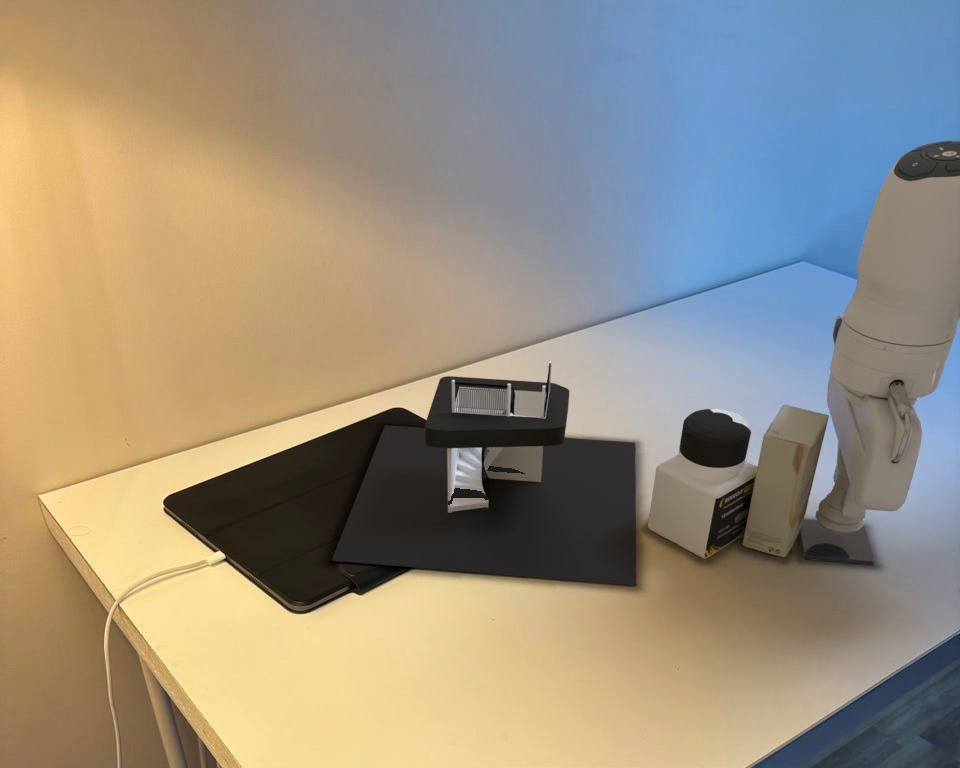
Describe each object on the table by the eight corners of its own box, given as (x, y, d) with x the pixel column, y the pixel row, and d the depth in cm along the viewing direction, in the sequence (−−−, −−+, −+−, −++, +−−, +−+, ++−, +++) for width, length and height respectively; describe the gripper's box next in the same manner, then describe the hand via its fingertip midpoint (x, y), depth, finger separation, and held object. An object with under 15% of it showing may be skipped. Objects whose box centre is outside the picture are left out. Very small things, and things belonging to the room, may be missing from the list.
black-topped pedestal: (331, 561, 91) (318, 432, 82) (384, 426, 111) (378, 310, 102) (636, 586, 89) (655, 455, 80) (635, 443, 109) (650, 326, 100)
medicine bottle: (704, 561, 92) (727, 446, 84) (645, 529, 96) (662, 417, 88) (749, 532, 96) (775, 420, 88) (691, 502, 100) (710, 393, 92)
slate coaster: (862, 527, 97) (864, 523, 96) (874, 565, 92) (875, 561, 92) (796, 521, 97) (797, 518, 97) (803, 559, 92) (804, 555, 92)
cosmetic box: (785, 560, 92) (811, 448, 84) (740, 547, 94) (761, 436, 85) (804, 523, 96) (831, 412, 88) (761, 511, 98) (783, 401, 89)
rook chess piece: (834, 505, 96) (856, 431, 90) (872, 526, 93) (897, 451, 88) (804, 519, 94) (824, 444, 88) (842, 541, 91) (865, 465, 86)
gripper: (956, 418, 74) (902, 567, 83) (904, 313, 90) (863, 448, 99) (870, 412, 75) (826, 560, 84) (833, 308, 90) (799, 443, 99)
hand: (846, 498), depth 91 cm, fingers closed on rook chess piece, 3 cm apart
